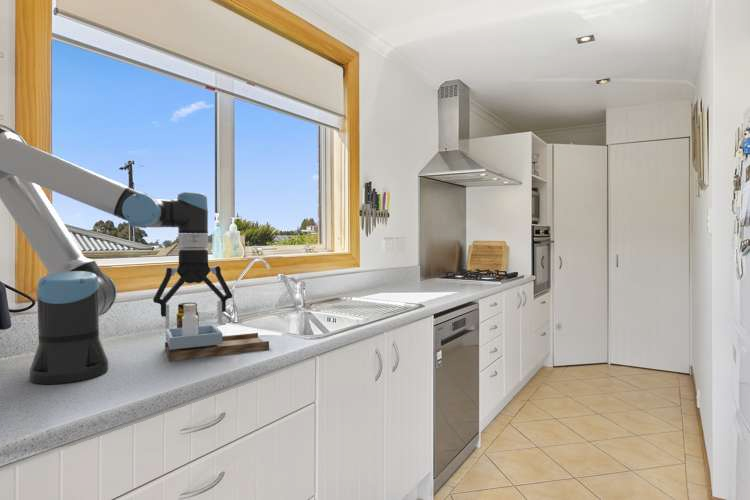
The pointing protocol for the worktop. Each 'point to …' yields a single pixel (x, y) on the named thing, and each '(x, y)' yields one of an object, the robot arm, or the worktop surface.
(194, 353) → the wooden cutting board
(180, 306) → the condiment
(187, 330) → the pepper shaker
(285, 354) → the worktop surface
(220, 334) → the light blue tray
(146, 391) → the worktop surface
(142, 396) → the worktop surface
